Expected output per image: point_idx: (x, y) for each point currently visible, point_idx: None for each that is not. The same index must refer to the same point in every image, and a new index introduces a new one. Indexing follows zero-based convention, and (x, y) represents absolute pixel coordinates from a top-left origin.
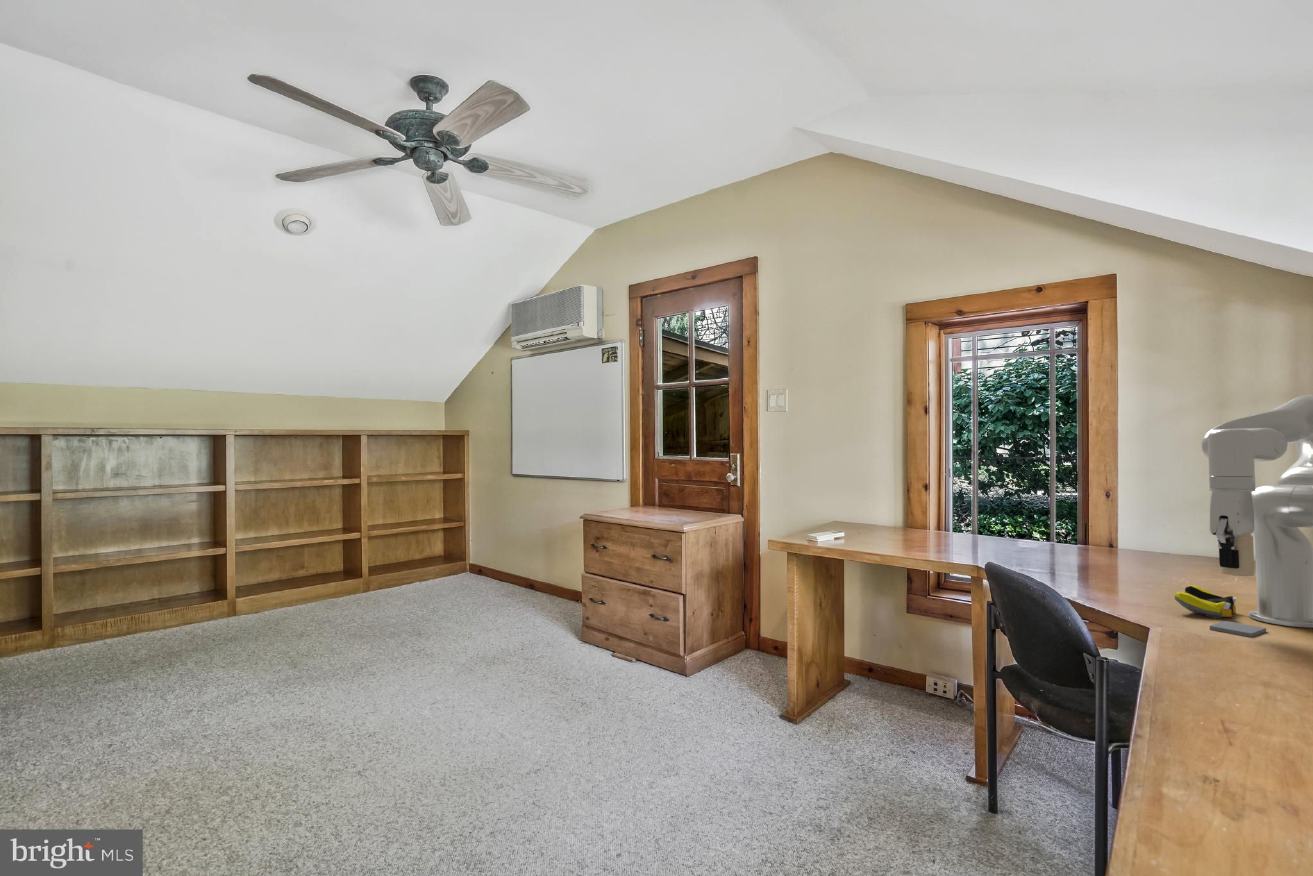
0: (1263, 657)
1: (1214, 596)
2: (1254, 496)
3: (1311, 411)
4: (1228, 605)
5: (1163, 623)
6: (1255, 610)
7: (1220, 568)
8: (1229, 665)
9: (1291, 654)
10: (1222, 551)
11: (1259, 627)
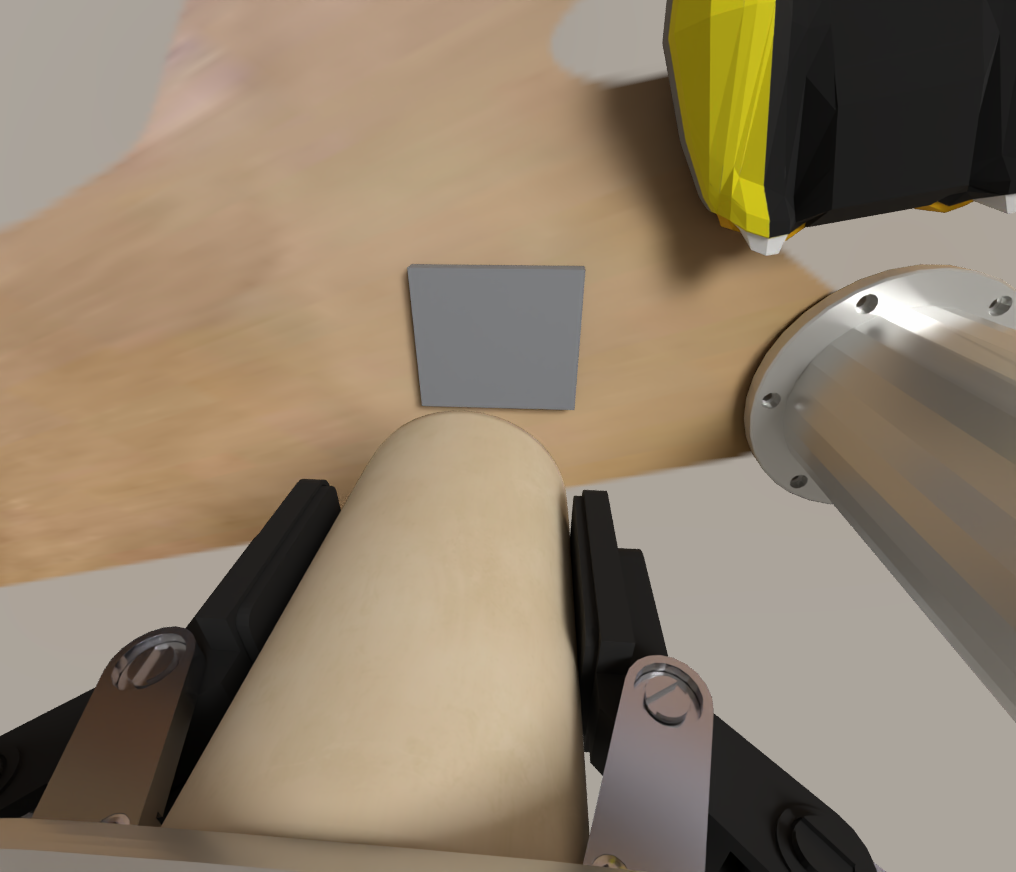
0: (200, 484)
1: None
2: None
3: None
4: (756, 247)
5: (326, 59)
6: (962, 285)
7: (405, 435)
8: (22, 460)
9: None
10: (189, 624)
11: (562, 394)
